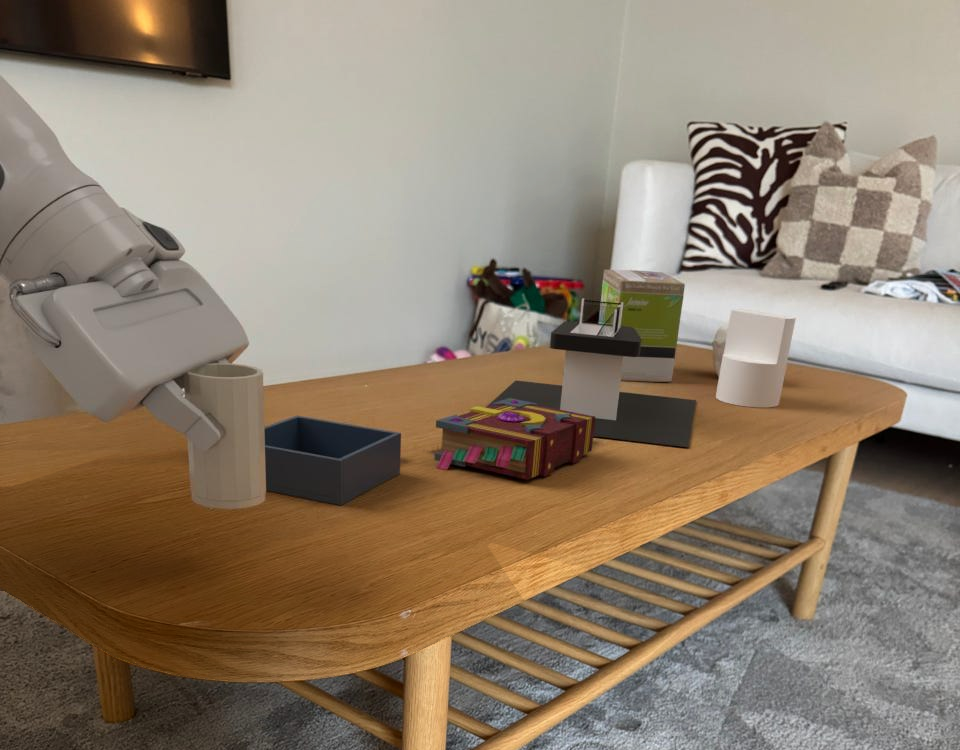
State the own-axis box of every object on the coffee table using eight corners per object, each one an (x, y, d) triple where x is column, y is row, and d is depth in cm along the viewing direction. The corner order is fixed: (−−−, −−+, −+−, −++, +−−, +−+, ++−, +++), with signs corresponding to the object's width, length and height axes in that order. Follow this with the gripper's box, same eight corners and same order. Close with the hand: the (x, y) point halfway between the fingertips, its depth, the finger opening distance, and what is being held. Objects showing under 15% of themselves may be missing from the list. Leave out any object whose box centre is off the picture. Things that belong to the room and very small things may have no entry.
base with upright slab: (790, 402, 139) (807, 316, 134) (759, 410, 133) (777, 320, 128) (735, 391, 145) (750, 307, 139) (703, 397, 139) (718, 311, 133)
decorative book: (594, 455, 106) (599, 410, 104) (523, 488, 93) (527, 437, 91) (505, 436, 111) (508, 393, 109) (427, 465, 98) (429, 416, 96)
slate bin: (340, 505, 85) (340, 460, 83) (229, 483, 89) (226, 439, 87) (400, 473, 95) (401, 432, 93) (297, 454, 99) (296, 415, 97)
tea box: (592, 362, 159) (602, 267, 153) (651, 365, 160) (664, 271, 154) (608, 380, 146) (620, 277, 139) (673, 383, 147) (688, 281, 140)
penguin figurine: (729, 316, 155) (800, 334, 149) (715, 369, 159) (784, 388, 154) (714, 319, 150) (787, 338, 145) (700, 374, 154) (771, 393, 149)
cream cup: (190, 509, 66) (181, 376, 62) (192, 486, 70) (184, 361, 66) (267, 509, 67) (264, 379, 63) (264, 486, 72) (261, 364, 68)
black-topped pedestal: (688, 448, 111) (707, 329, 105) (469, 422, 116) (476, 307, 110) (695, 401, 136) (711, 302, 130) (515, 381, 141) (522, 285, 135)
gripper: (24, 245, 53) (203, 439, 56) (181, 230, 71) (309, 377, 74) (-38, 322, 55) (138, 503, 59) (129, 288, 74) (256, 428, 77)
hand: (235, 432), depth 67 cm, fingers closed on cream cup, 5 cm apart
